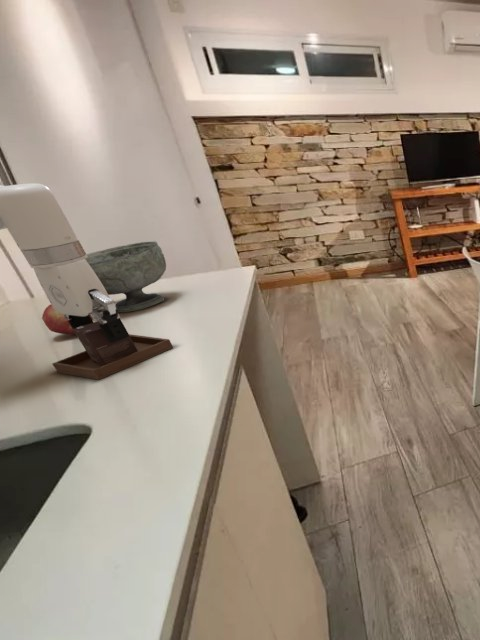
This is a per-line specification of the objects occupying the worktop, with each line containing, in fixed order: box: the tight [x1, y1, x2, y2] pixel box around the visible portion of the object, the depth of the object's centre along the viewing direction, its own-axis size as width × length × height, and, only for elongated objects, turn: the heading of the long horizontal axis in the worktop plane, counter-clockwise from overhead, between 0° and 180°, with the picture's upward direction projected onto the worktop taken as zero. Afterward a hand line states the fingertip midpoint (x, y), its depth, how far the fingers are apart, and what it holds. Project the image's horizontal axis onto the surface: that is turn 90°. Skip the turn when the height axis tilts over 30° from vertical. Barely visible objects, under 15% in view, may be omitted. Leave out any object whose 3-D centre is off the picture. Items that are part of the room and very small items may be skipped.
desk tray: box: [51, 333, 174, 381], centre depth 96 cm, size 13×13×2 cm
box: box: [73, 320, 138, 366], centre depth 95 cm, size 6×6×7 cm
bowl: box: [85, 240, 167, 313], centre depth 123 cm, size 20×19×15 cm
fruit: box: [41, 304, 93, 336], centre depth 110 cm, size 8×8×8 cm
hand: (104, 337), depth 95 cm, fingers open, 9 cm apart
